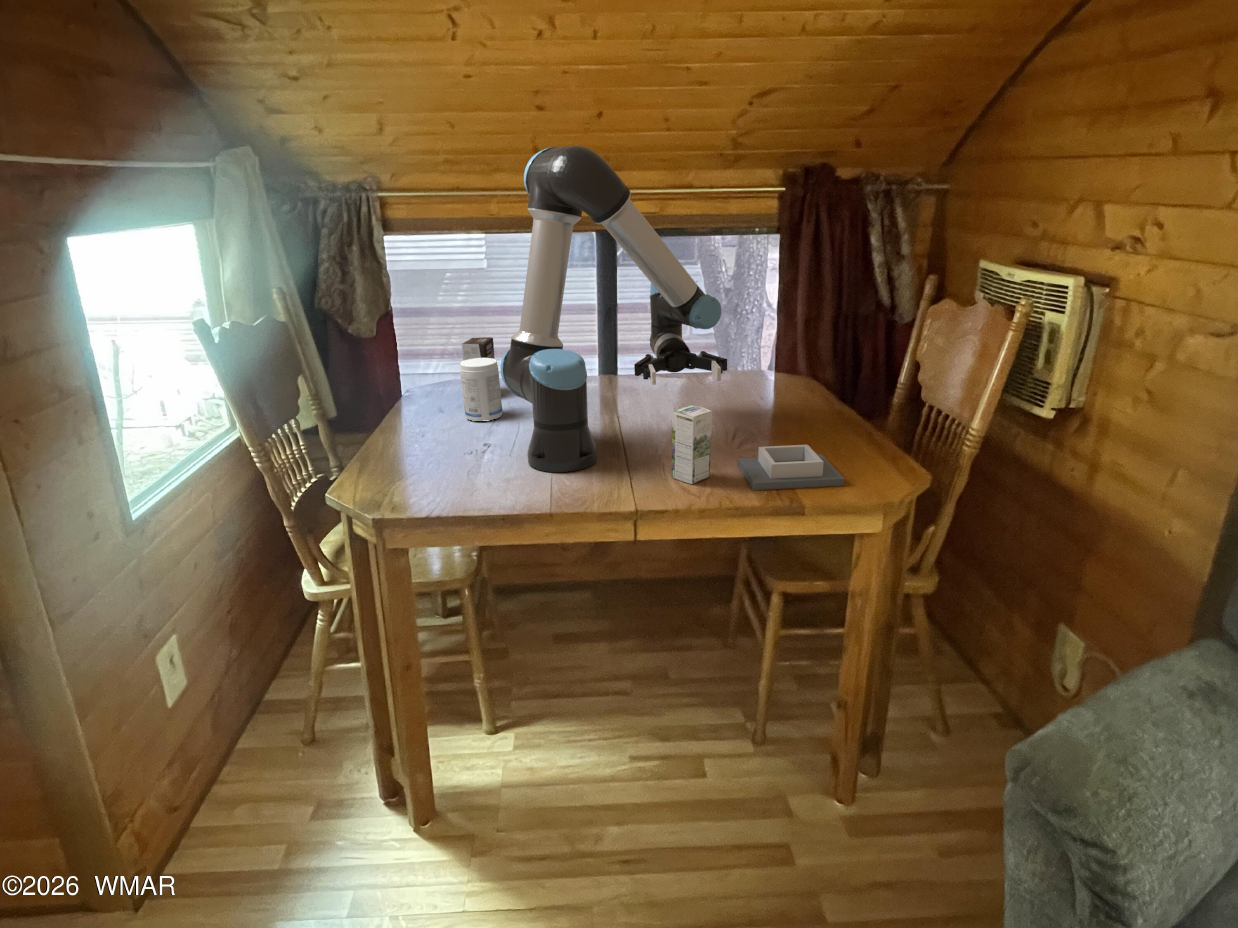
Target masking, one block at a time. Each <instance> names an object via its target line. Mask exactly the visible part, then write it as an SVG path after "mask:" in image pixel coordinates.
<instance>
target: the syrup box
mask: <svg viewBox="0 0 1238 928" xmlns="http://www.w3.org/2000/svg"><path fill="white" fill-rule="evenodd" d="M671 417H672V424H671V425H672V427H671V428H672V429H671V432H672V433H671V435H672V436H671V479H673V480H677V481H681V482H683V483H687V484H690V485H695V484H697V483H699V482H702V481H704V480H707V479H708V478H710V477H711V462H712V461H711V459H712V458H711V456H712V455H711V454H712V434H713V433H712V431H713V430H712V429H713V428H712V427H713V424H712V423H713V411H712V410H711V409H707V408H705V407H702V406H698V405H688V406H685V407H682V408H680V409H676V410H673V411H672V416H671Z"/></svg>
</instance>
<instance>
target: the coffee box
mask: <svg viewBox="0 0 1238 928" xmlns="http://www.w3.org/2000/svg"><path fill="white" fill-rule="evenodd" d="M494 346H495V345H494V337H491V336H490V337H485V336H484V337H470V338H469V339H468V340H466V341H464V342H463V343H461V347H462V348H461V349H462V358H463V359H462V361H465V360H468V359H474V358H492V359H495V347H494ZM495 360H496V359H495Z"/></svg>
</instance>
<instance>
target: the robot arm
mask: <svg viewBox="0 0 1238 928" xmlns="http://www.w3.org/2000/svg"><path fill="white" fill-rule="evenodd" d="M523 184H524V188H525V191H526V192H527V194H528V205H527V212H528V214H530V216H531V217H532V219H533V220H532V221H533V222H532V229H531V237H530V245H529V252H528V261H527V266H526V267H527V268H526V274H525V275H526V276H525V283H524V292H523V298H522V299H523V300H522V307H521V316H520V324H519V329H518V331H517V332H515V333H514V334H513V335H511V339H510V347H509V348H508V350H507V351H505V353H504V354H503V356H502V359H501V362H500V369H499V370H500V375H501V379H502V381H503V384H505V386H506V387H507V389H509V390H510V391H511V392H512V394H514V395H515V396H517V397H519V398H521V399H523V400H525V401H527V402H529V403H530V404H532V419H533V431H532V434H531V437H530V438H531V439H530V441H529V445H528V450H527V463H528V465H529V466H530V467H531V466H532V468H533V469H535V468H536V470H539V471H542V472H548V473H549V472H550V473H565V472H566V473H567V472H568V471H569V472H575V471H580V470H584V469H587V468H589V467H592V466H593V465H594V464H596V463H597V461H598V449H597V446H596V443H595V441H594V440H595V439H594V438H593V435H592V432H591V430H590V427H589V418H588V413H589V411H588V384H587V380H588V379H587V378H588V373H587V372H588V371H587V369H586V368H587V367H586V361H585V359H584V358H583V356H581V354H580V353H577V352H576V351H572V350H569V349H567V350H565V349H563V348H564V343H563V342H562V340H561V339H560V338H559V329H560V322H561V313H562V307H563V300H564V293H565V285H566V280H567V272H568V265H569V257H570V252H571V251H570V250H571V244H572V243H571V242H572V236H573V229H574V226H575V225H576V224H577V223H578V222H579V221H580V220H582V217H583V213H585V214H586V215H587V216H588V217H589V218H590V219H591V221H592V222H593V223H594V224H596V225H602V226H603V228H605V230H606V231H607V232H608V233H609V234H610V235H611V237H612V239H614V240H615V241H616V242H617V244H618V245H619V246H620V248H621V249H622V250H623V251H624V252H625V253H626V254H627V256H628V257H629V258H630V259H631V260H632V261H633V263H634V264H635V265H636V266H637V267H638V269H639V270H640V271H641V272H642V273H643V275H644V276H645V277H646V278H647V279H648V280H649V282H650V295H649V300H650V302H649V304H650V321H651V323H650V336H649V347H650V349H651V351H652V353H653V354H654V356H655V357H654V356H653V355H651V354H650V353H647V354H645V356H644V357H643V358H641V359H640V360H638V361H637V362H635V363H634V368H633V369H634V376H636V377H640V376H641V375H642V376H643V380H644V381H645V380H649V381H650V382H651V385H657V373H658V372H661V371H662V372H668V373H673V374H675V373H679V372H682V371H684V370H685V369H687V370H695V369H697V370H703V371H709V372H711V374H712V376H713V377H714V378H715V380H716V381H718V382H719V381H722V374H723V373H724V372H727V371H728V359H727V358H725V357H723V356H722V357H721V356H718V355H715V354H711V353H708V352H706V351H704V350H702V351H700V352H699V354H696V353H695V352H691V349H690V348H689V346H688V345H687V343H686V341H684V339H683V325H685V326H688V327H692V328H693V329H697V330H698V329H700V330H710V329H713V328H714V327H715V326H716V325H717V324H718V323H719V321H720V319H721V317H722V306H721V303H720V301H719V300H718V298H716V297H715V296H712V295H710V294H707V293H706V294H705V292H704V291H703V290H702V289H701V287H700V285H698V284H697V283H696V282H695V280H694V279H693V277H692V276H691V275H690V274H689V273H688V271H687V270H686V268H685V267H684V266H683V265H682V264H681V262H680V261H679V260H678V258H677V257H676V256H675V255H674V253H673V252H672V250H670V248H669V247H668V245H667V244H666V242H664V241H663V239H662V238H661V236H660V235H659V234H658V232H657V231H656V230H655V229H654V228H653V226H652V225H651V224H650V223H649V221H648V220H647V218H645V216H644V214H643V213H642V212H641V211H640V210H639V208H637V206H636V205H635V204H634V202H633V201H632V200H631V195H632V192H631V190H630V189H629V188H628V186H627V185H626V183H625V182H624V181H623V179H621V177H620V176H619V175H618V173H616V171H615V170H614V169H613V167H612V166H611V165H609V163H608V162H607V161H606V160H605V159H604V158H603V157H602V156H601V155H600V154H598V153H597V152H595V151H594V150H592V149H590V148H588V147H585V146H582V145H572V146H571V145H570V146H552V147H547V148H545V149H542V150H539V151H538V152H537V153H535V154H534V155H533V156H531V158H530V159H529V160H528V162H527V165H525V168H524V173H523ZM569 472H568V473H569Z"/></svg>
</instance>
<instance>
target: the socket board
mask: <svg viewBox="0 0 1238 928" xmlns="http://www.w3.org/2000/svg"><path fill="white" fill-rule="evenodd" d="M757 452H758V454H757V457H740V458H739V457H738V459H737V460H738V461H737V466H738V467H739V469H740V470H741V472H742V474H743V475H744V477H745V479H746V480H747V482H748V484H749V485H750V487H751V488H752V490H753V491H763V490H765V491H766V490H781V489H782V490H783V489H802V488H821V487H840V486H841V487H842V486H843V485H844V486H845V477H844V476H842V474H841V473H840V472H839V471H838V470H837V469H836V468H835V467H834V466H833V465H832V464H831V462H830V461H828V460H827V458H826V457H825V456H824V455H823V454H820V453H819V454H818V453H817V452H815V451H814V450H813V448H811V446H809V444H796V445H793V444H791V445H774V446H773V445H771V446H770V445H769V446H758V451H757Z"/></svg>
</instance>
